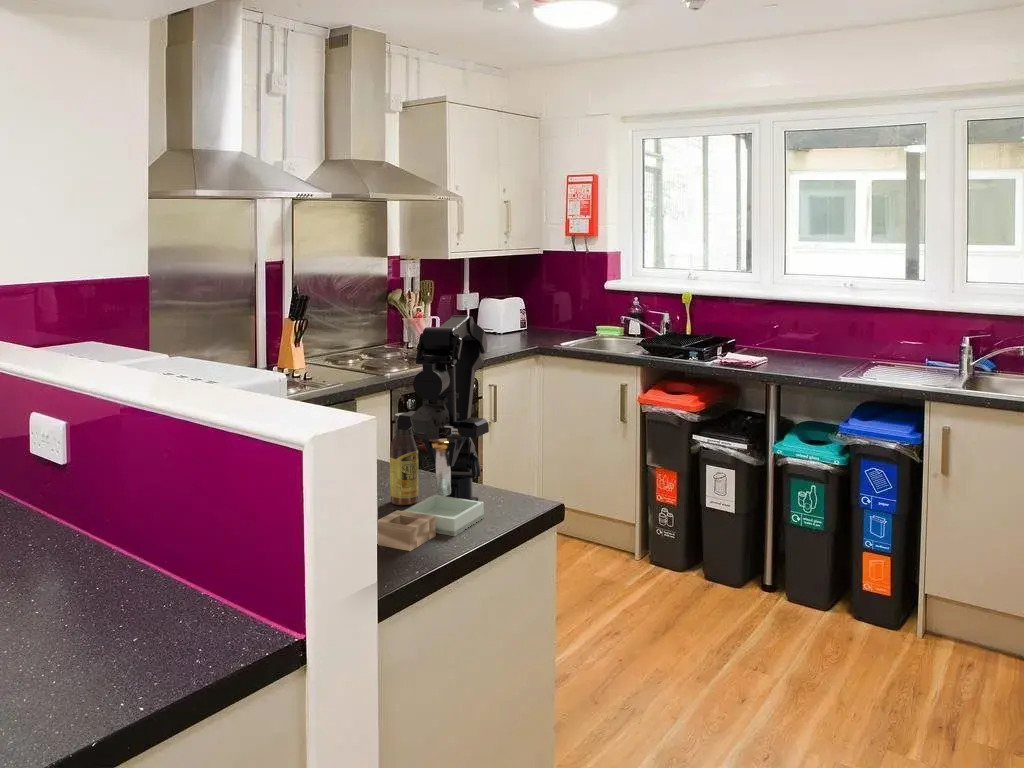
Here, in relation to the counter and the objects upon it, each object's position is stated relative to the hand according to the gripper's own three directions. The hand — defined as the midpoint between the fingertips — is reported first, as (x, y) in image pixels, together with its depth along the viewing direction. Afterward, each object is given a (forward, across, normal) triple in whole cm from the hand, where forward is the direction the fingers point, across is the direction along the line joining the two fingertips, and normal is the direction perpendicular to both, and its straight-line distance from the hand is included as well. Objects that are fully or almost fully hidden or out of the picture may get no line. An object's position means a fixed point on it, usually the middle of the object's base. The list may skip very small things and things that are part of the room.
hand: (443, 465), depth 181 cm
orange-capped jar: (+6, 0, 0) cm, 6 cm away
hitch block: (+12, -2, -12) cm, 17 cm away
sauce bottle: (+12, -15, +8) cm, 21 cm away
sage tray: (+12, 0, 0) cm, 12 cm away
